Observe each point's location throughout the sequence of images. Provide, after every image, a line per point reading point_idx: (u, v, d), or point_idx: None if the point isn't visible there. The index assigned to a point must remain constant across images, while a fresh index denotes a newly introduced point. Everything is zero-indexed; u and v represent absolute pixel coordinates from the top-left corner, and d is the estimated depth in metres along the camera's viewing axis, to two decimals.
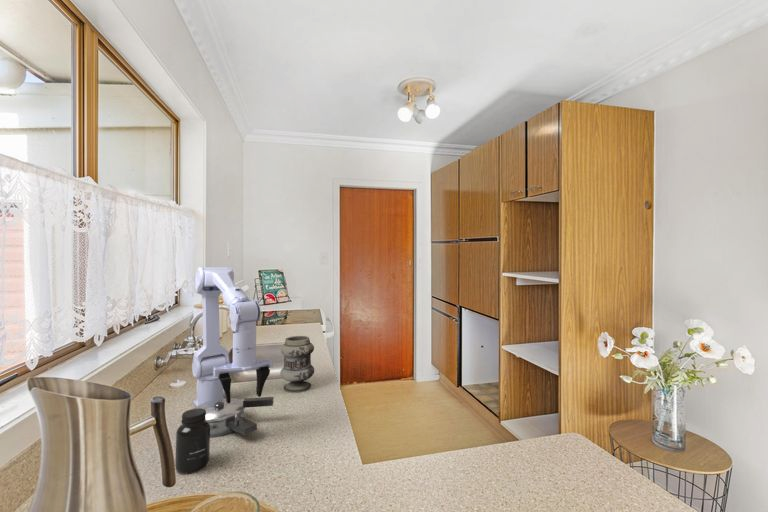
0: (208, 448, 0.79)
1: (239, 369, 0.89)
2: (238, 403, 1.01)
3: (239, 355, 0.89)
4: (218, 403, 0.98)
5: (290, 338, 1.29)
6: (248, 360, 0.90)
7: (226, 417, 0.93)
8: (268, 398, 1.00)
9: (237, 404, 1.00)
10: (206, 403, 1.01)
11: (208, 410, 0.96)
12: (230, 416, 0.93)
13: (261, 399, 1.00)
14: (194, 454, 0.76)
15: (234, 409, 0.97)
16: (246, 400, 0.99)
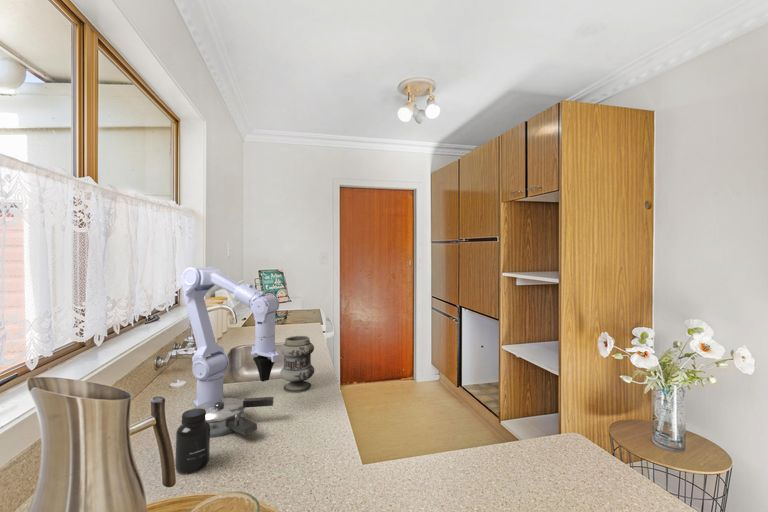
0: (208, 448, 0.79)
1: None
2: (238, 403, 1.01)
3: None
4: (218, 403, 0.98)
5: (290, 338, 1.29)
6: (256, 347, 1.03)
7: (226, 417, 0.93)
8: (268, 398, 1.00)
9: (237, 404, 1.00)
10: (206, 403, 1.01)
11: (208, 410, 0.96)
12: (230, 416, 0.93)
13: (261, 399, 1.00)
14: (194, 454, 0.76)
15: (234, 409, 0.97)
16: (246, 400, 0.99)
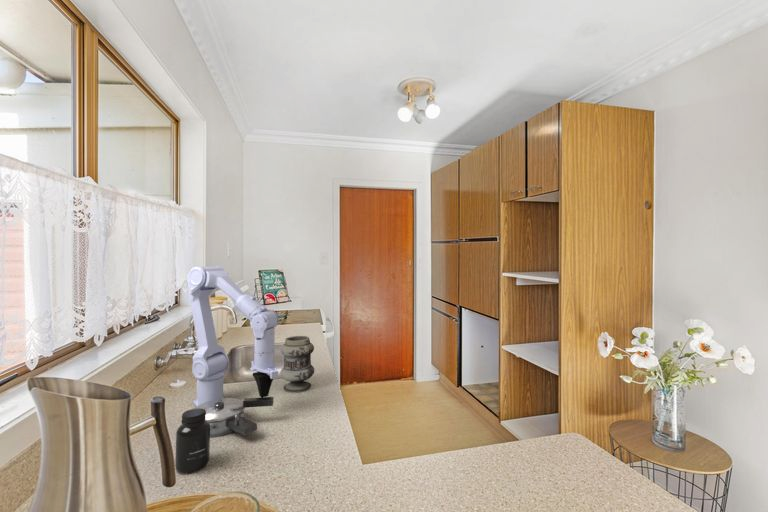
0: (208, 448, 0.79)
1: None
2: (238, 403, 1.01)
3: None
4: (218, 403, 0.98)
5: (290, 338, 1.29)
6: (255, 363, 1.03)
7: (226, 417, 0.93)
8: (268, 398, 1.00)
9: (237, 404, 1.00)
10: (206, 403, 1.01)
11: (208, 410, 0.96)
12: (230, 416, 0.93)
13: (261, 399, 1.00)
14: (194, 454, 0.76)
15: (234, 409, 0.97)
16: (246, 400, 0.99)
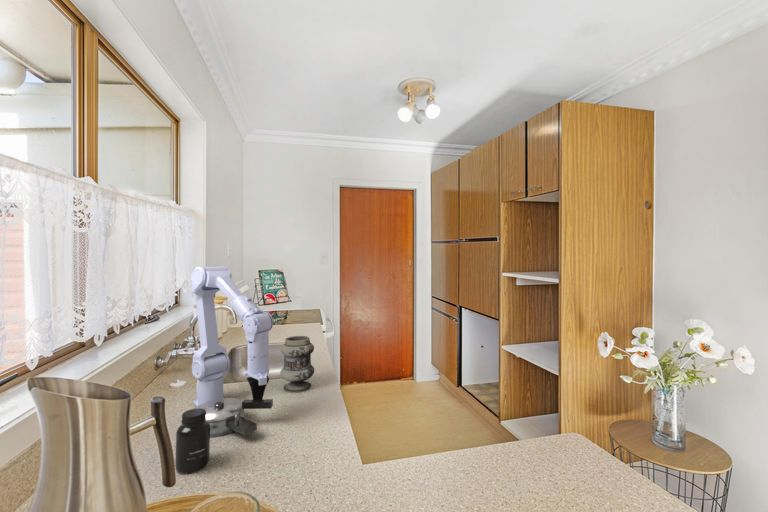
0: (208, 448, 0.79)
1: None
2: (239, 403, 1.01)
3: None
4: (218, 403, 0.98)
5: (290, 338, 1.29)
6: (247, 367, 0.99)
7: (223, 418, 0.92)
8: (267, 400, 0.99)
9: (238, 404, 1.00)
10: (209, 402, 1.01)
11: (207, 410, 0.96)
12: (227, 417, 0.93)
13: (259, 401, 0.98)
14: (194, 454, 0.76)
15: (233, 410, 0.96)
16: (245, 401, 0.98)
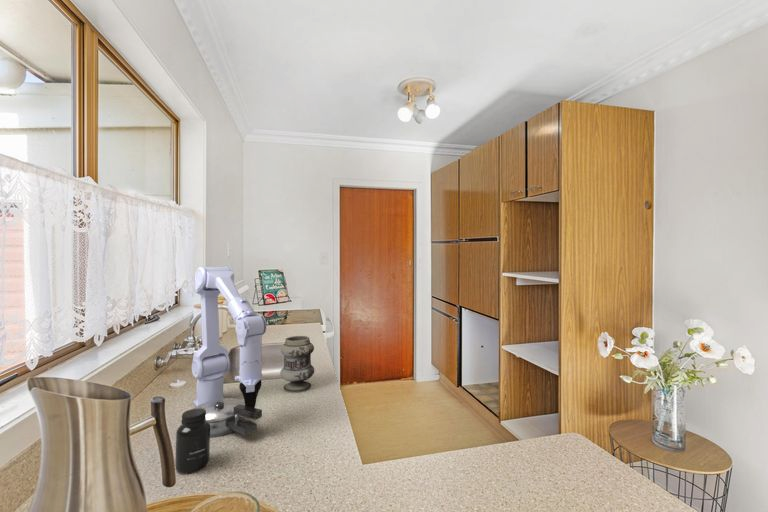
0: (208, 448, 0.79)
1: None
2: None
3: None
4: (219, 403, 0.98)
5: (290, 338, 1.29)
6: None
7: (209, 420, 0.91)
8: (255, 410, 0.93)
9: None
10: (219, 400, 1.03)
11: (208, 408, 0.98)
12: (213, 420, 0.91)
13: (249, 409, 0.93)
14: (194, 454, 0.76)
15: (225, 413, 0.94)
16: (237, 407, 0.94)
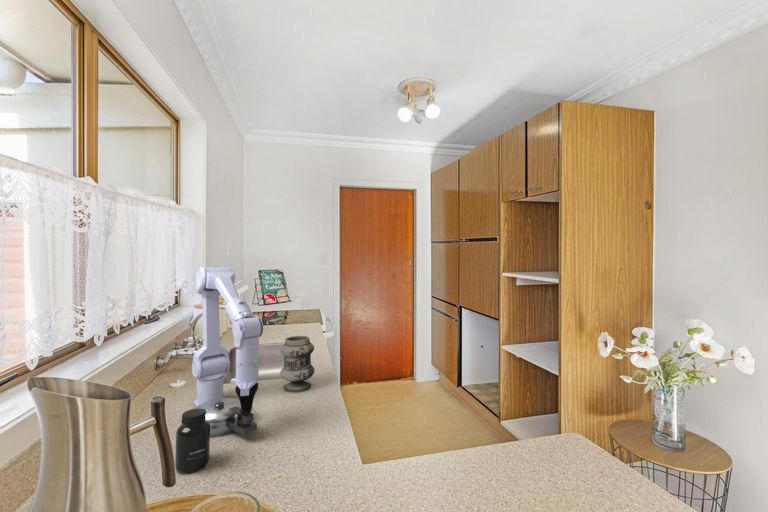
0: (208, 448, 0.79)
1: None
2: None
3: None
4: (219, 403, 0.98)
5: (290, 338, 1.29)
6: None
7: None
8: (247, 414, 0.90)
9: None
10: (223, 399, 1.03)
11: (209, 407, 0.98)
12: (208, 420, 0.91)
13: (242, 412, 0.91)
14: (194, 454, 0.76)
15: (221, 414, 0.94)
16: (232, 408, 0.93)
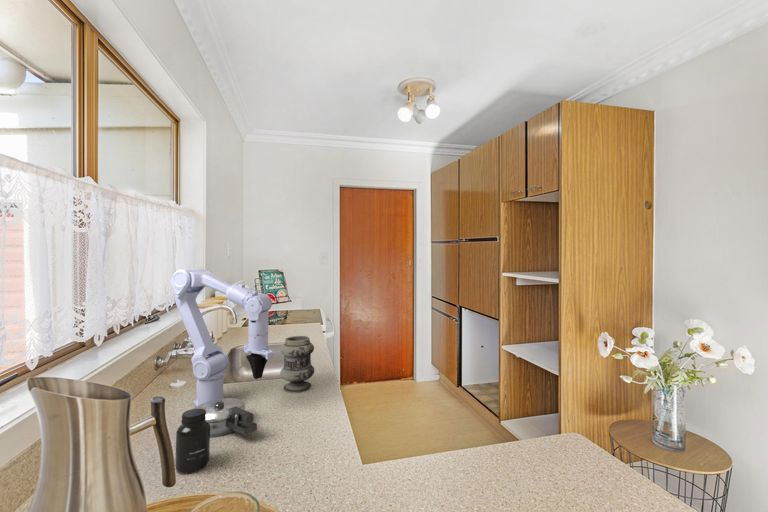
0: (208, 448, 0.79)
1: None
2: None
3: None
4: (219, 403, 0.98)
5: (290, 338, 1.29)
6: (250, 345, 1.06)
7: None
8: (247, 414, 0.90)
9: None
10: (223, 399, 1.03)
11: (209, 407, 0.98)
12: (208, 420, 0.91)
13: (242, 412, 0.91)
14: (194, 454, 0.76)
15: (221, 414, 0.94)
16: (232, 408, 0.93)
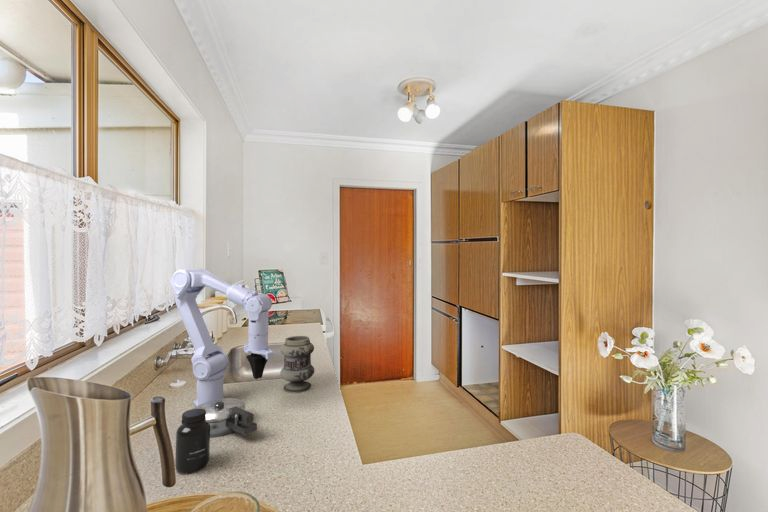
0: (208, 448, 0.79)
1: None
2: None
3: None
4: (219, 403, 0.98)
5: (290, 338, 1.29)
6: (250, 345, 1.06)
7: None
8: (247, 414, 0.90)
9: None
10: (223, 399, 1.03)
11: (209, 407, 0.98)
12: (208, 420, 0.91)
13: (242, 412, 0.91)
14: (194, 454, 0.76)
15: (221, 414, 0.94)
16: (232, 408, 0.93)
